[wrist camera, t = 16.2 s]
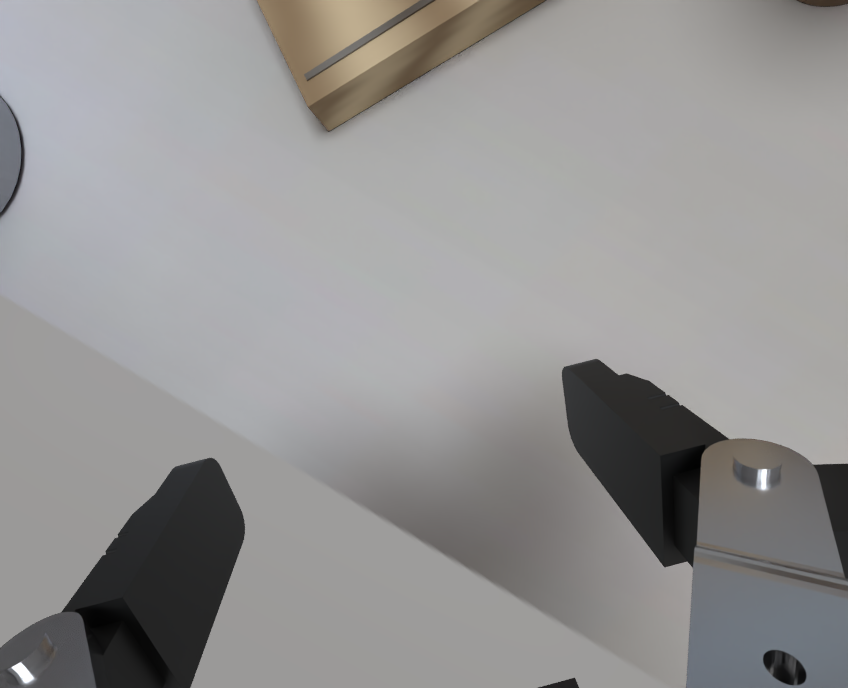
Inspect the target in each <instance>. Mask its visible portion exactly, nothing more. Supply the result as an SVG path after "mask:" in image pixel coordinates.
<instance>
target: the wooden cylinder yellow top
mask: <svg viewBox="0 0 848 688" xmlns="http://www.w3.org/2000/svg"><path fill="white" fill-rule="evenodd" d="M798 1H800V2H803V3H806V4H810V5H815V6H837V5H842V4H847V3H848V0H798Z"/></svg>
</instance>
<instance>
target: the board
mask: <svg viewBox="0 0 848 688" xmlns="http://www.w3.org/2000/svg"><path fill="white" fill-rule="evenodd" d="M544 1H545V0H257V2H258V4H259V6H260V8H261V10H262V12H263V14H264V16H265V18H266V20H267V22H268V25H269V27H270V29H271V31H272V33H273V35H274V37H275V39H276V41H277V43H278V45H279V48H280V50H281V52H282V54H283V56H284V58H285V60H286V62H287V64H288V66H289V68H290V70H291V73H292V75H293V77H294V79H295V81H296V83H297V85H298V87H299V89H300V91H301V93H302V96H303V98H304V100H305V102H306V104H307V106H308V108H309V109H310V110H311V111H312V112H313V113H314V115H315V116H316V117H317V118H318V119H319V120H320V122H321V123H322V124H323V125H324V126H325V127H326V129H327V130H328V131H331V130H332V129H334V128H335V127H337V126H339V125H340V124H342V123H344V122H345V121H347V120H349V119H350V118H352V117H354V116H355V115H357V114H359V113H360V112H362V111H364V110H365V109H367V108H369V107H370V106H372V105H373V104H375V103H377V102H378V101H380V100H382V99H383V98H385V97H387V96H388V95H390V94H392V93H393V92H395V91H397V90H398V89H400V88H402V87H403V86H405V85H407V84H408V83H410V82H412V81H413V80H415V79H416V78H418V77H420V76H421V75H423V74H425V73H426V72H428V71H430V70H431V69H433V68H435V67H436V66H438V65H440V64H441V63H443V62H445V61H446V60H448V59H450V58H451V57H453V56H454V55H456V54H458V53H459V52H461V51H463V50H464V49H466V48H468V47H469V46H471V45H473V44H474V43H476V42H478V41H479V40H481V39H483V38H484V37H486V36H488V35H489V34H491V33H492V32H494V31H496V30H497V29H499V28H501V27H502V26H504V25H506V24H507V23H509V22H511V21H512V20H514V19H516V18H517V17H519V16H521V15H522V14H524V13H526V12H527V11H529V10H530V9H532V8H534V7H535V6H537V5H539V4H540V3H542V2H544Z"/></svg>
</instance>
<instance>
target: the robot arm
mask: <svg viewBox="0 0 848 688" xmlns="http://www.w3.org/2000/svg"><path fill="white" fill-rule="evenodd" d="M20 166H21V144H20V136H19V131H18V128H17V125H16V122H15V119H14V117H13V115H12V113H11V111H10V109H9V108H8V106H7V104H6V103H5V102H4V101H3V100H2V98H1V97H0V212H1V211H2V210H3V209H4V207H5V205H6V204H7V202H8V201H9V199H10V198H11V196H12V193H13V191H14V188H15V186H16V183H17V180H18V175H19V171H20ZM562 380H563V388H564V396H565V404H566V412H567V420H568V427H569V432H570V435H571V439H572V441H573V444H574V446H575V448H576V450H577V452H578V453H579V454H580V456H581V457H582V458H583V460H584V461H585V462H586V464H587V465H588V466H589V468H590V469H591V470H592V472H593V473H594V474H595V476H596V477H597V478H598V480H599V481H600V482H601V484H602V485H603V486H604V488H605V489H606V490H607V492H608V493H609V494H610V496H611V497H612V498H613V500H614V501H615V502H616V504H617V505H618V506H619V507H620V509H621V510H622V511H623V513H624V514H625V515H626V517H627V518H628V519H629V521H630V522H631V523H632V525H633V526H634V527H635V529H636V530H637V531H638V533H639V534H640V535H641V537H642V538H643V539H644V541H645V542H646V543H647V545H648V546H649V547H650V549H651V550H652V551H653V553H654V554H655V555H656V557H657V558H658V559H659V561H660V562H661V563H662V565H663V566H664V567H668V566H671V565H675V564H679V563H683V562H687V561H688V563H689V564H690V565H691V566H692V567H693V580H692V597H691V614H690V631H689V648H688V666H687V683H686V688H848V464H822V465H813V464H812V463H811V462H810V461H809V460H807V459H806V458H805V457H804V456H802V455H801V454H799V453H797V452H795V451H793V450H792V449H789V448H787V447H784V446H782V445H779V444H775V443H772V442H768V441H763V440H756V439H728V438H727V437H726V436H724V435H723V434H721V433H720V432H719V431H717V430H716V429H715V428H713V427H712V426H710V425H709V424H708V423H706V422H705V421H703V420H702V419H701V418H699V417H698V416H697V415H695V414H694V413H692V412H691V411H690V410H688V409H687V408H686V407H684V406H683V405H681V406H680V405H679V402H677V401H676V400H675V399H673V398H672V397H670V396H669V395H667V396H666V394H665V392H663V391H662V390H661V389H659V388H658V387H657V386H655V385H654V384H652V383H651V382H650V381H647V380H644V379H641V378H638V377H635V376H632V375H629V374H623V375H618V374H616V373H615V372H614V371H613V370H611V369H610V368H609V367H607V366H606V365H605V364H604V363H602V362H601V361H600V360H598V359H594V360H590V361H586V362H582V363H578V364H574V365H570V366H566V367H564V368H563V370H562ZM244 534H245V524H244V519H243V514H242V511H241V509H240V507H239V505H238V503H237V501H236V498H235V496H234V494H233V492H232V490H231V488H230V486H229V484H228V481H227V479H226V477H225V475H224V473H223V471H222V469H221V467H220V465H219V463H218V462H217V461H216V460H215V459H213V458H207V459H204V460H199V461H196V462H192V463H188V464H184V465H180V466H177V467H175V468H173V470H172V471H171V472H170V474H169V475H168V476H167V478H166V479H165V481H164V482H163V484H162V485H161V487H160V488H159V489H158V491H157V492H156V494H155V495H154V496H152V497H151V498H150V499H149V500H148V501H147V502H146V503H145V504H143V506H141V507H140V508H139V509H138V510H137V511H136V512H134V513H133V514H132V516H131V517H130V518H129V520H128V521H127V523H126V524H125V525H124V527H123V528H122V529H121V531H120V532H119V534H118V538H115V539H114V540H113V542H112V543H111V545H110V546H109V547H108V549H107V550H106V555H104V556H102V557H101V559H100V560H99V561H98V563H97V564H96V565H95V567H94V568H93V569H92V571H91V572H90V574H89V575H88V576H87V578H86V579H85V580H84V582H83V583H82V585H81V586H80V587H79V589H78V590H77V592H76V593H75V595H74V596H73V597H72V598H71V600H70V601H69V603H68V604H67V606H66V607H65V608H64V609H63V611H62V612H61V613H58V614H55V615H52V616H49V617H47V618H45V619H43V620H40V621H38V622H36V623H35V624H33V625H31V626H30V627H28V628H26V629H25V630H23V631H22V632H20V633H19V634H17V635H16V636H14V637H13V638H12V639H10V640H9V641H8V642H7V643H5V644H4V645H3V646H2V647H1V648H0V688H190V687H191V684H192V681H193V679H194V676H195V673H196V670H197V668H198V665H199V662H200V659H201V656H202V654H203V651H204V648H205V645H206V643H207V640H208V637H209V634H210V632H211V628H212V626H213V623H214V621H215V617H216V615H217V612H218V609H219V606H220V604H221V601H222V598H223V595H224V593H225V590H226V587H227V584H228V582H229V579H230V576H231V574H232V571H233V568H234V565H235V562H236V560H237V557H238V554H239V551H240V549H241V546H242V543H243V540H244ZM539 688H579V687H578V684H577V682H576V679H575V678H572V679H569V680H565V681H561V682H558V683H554V684H550V685H547V686H543V687H539Z"/></svg>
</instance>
